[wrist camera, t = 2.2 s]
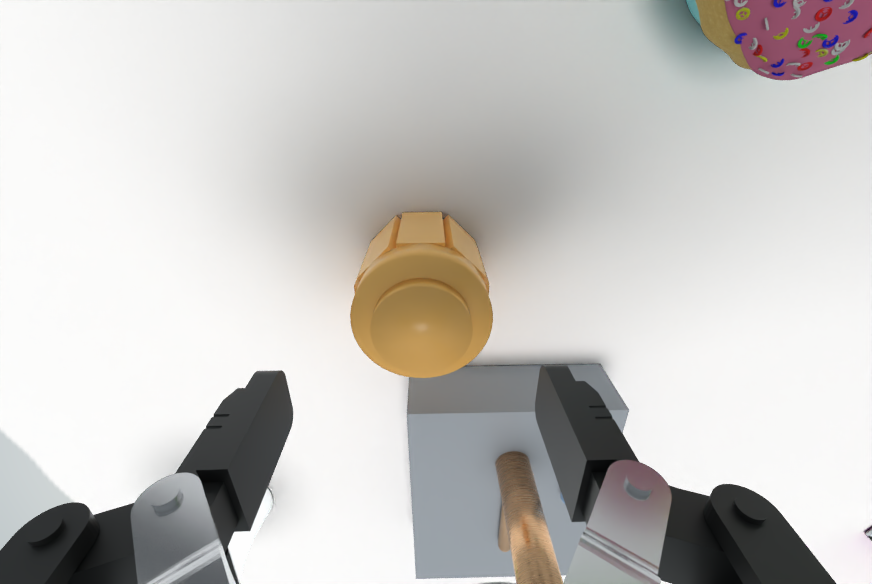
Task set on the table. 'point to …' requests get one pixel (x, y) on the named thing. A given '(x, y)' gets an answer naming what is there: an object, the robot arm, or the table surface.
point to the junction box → (483, 466)
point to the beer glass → (248, 535)
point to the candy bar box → (869, 533)
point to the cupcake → (787, 33)
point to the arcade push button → (422, 297)
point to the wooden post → (526, 522)
